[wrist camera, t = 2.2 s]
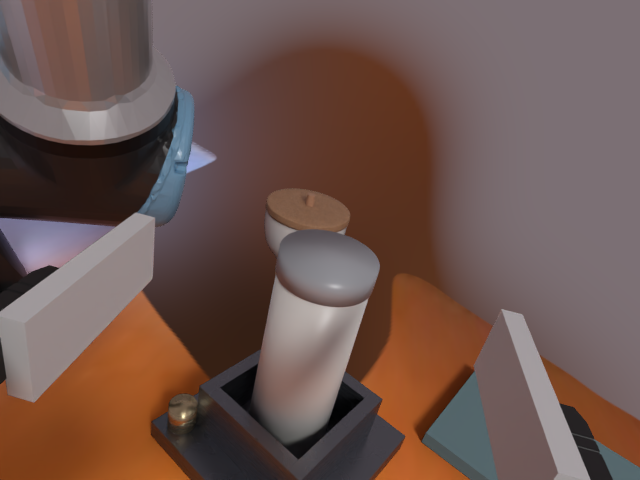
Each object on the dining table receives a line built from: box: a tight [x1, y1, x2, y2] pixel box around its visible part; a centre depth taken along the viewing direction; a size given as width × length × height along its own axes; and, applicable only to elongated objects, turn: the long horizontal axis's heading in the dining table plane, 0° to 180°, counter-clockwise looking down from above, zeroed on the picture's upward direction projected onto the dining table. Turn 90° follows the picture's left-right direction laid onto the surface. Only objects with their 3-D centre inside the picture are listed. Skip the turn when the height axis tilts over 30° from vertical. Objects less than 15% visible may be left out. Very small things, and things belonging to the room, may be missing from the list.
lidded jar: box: [264, 189, 350, 258], centre depth 59 cm, size 11×11×9 cm
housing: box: [151, 349, 405, 480], centre depth 35 cm, size 14×14×6 cm
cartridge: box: [249, 229, 380, 460], centre depth 31 cm, size 6×6×16 cm
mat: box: [422, 371, 640, 480], centre depth 39 cm, size 16×12×1 cm
